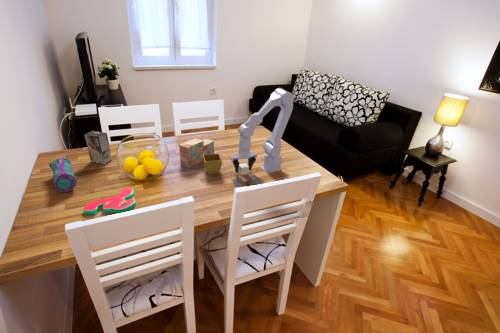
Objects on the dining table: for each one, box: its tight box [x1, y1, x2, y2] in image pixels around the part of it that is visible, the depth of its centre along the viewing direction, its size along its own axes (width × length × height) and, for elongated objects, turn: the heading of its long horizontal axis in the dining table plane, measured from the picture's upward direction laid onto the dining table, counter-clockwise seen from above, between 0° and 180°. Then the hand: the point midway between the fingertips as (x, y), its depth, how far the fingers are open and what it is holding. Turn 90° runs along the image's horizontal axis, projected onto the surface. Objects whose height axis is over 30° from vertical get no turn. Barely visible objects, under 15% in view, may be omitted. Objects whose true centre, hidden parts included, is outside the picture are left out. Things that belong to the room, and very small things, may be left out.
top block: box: [238, 162, 250, 176], centre depth 149 cm, size 4×4×5 cm
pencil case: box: [48, 157, 78, 193], centre depth 129 cm, size 21×9×10 cm, turn 36°
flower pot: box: [203, 152, 223, 175], centre depth 147 cm, size 9×9×9 cm
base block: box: [239, 174, 254, 187], centre depth 138 cm, size 5×5×4 cm
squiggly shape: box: [82, 186, 137, 216], centre depth 119 cm, size 20×16×2 cm
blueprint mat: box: [230, 174, 264, 187], centre depth 140 cm, size 14×14×1 cm
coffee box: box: [84, 130, 113, 165], centre depth 148 cm, size 9×6×16 cm
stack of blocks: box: [179, 137, 215, 168], centre depth 158 cm, size 21×6×12 cm, turn 145°
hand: (243, 170), depth 149 cm, fingers open, 7 cm apart
